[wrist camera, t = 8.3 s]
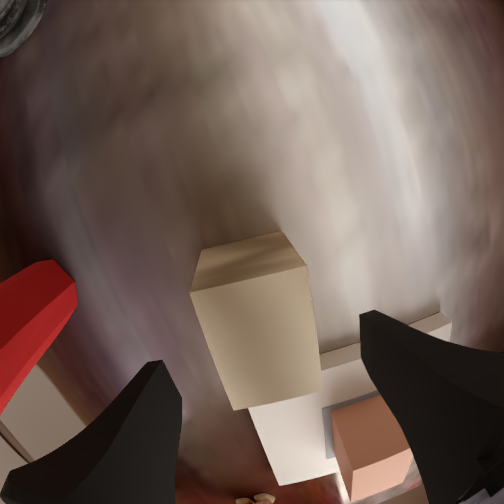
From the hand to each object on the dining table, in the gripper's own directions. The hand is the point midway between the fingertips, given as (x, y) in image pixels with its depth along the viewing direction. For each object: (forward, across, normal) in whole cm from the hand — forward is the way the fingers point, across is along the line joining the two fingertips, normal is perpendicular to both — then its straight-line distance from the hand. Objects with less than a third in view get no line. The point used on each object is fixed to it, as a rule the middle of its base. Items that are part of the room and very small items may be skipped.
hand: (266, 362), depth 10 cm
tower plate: (+6, -5, +12) cm, 14 cm away
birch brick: (+6, 0, 0) cm, 6 cm away
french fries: (+6, +13, -2) cm, 14 cm away
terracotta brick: (+4, -5, +12) cm, 14 cm away
